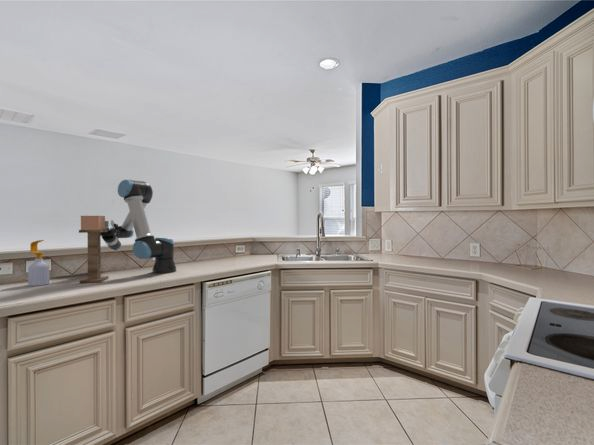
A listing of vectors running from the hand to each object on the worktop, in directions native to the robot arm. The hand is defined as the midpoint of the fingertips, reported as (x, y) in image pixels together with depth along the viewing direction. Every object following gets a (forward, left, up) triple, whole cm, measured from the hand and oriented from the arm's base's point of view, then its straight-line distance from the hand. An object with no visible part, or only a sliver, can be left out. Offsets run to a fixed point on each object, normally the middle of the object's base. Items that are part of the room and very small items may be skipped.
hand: (99, 221), depth 194 cm
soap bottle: (+26, +13, -35) cm, 45 cm away
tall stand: (0, +9, -34) cm, 35 cm away
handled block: (0, +3, -4) cm, 5 cm away
